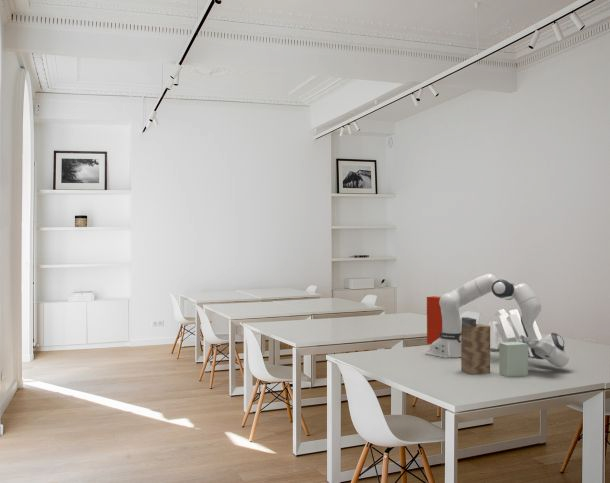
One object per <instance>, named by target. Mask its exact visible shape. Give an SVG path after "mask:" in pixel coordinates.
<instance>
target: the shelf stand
mask: <svg viewBox="0 0 610 483" xmlns="http://www.w3.org/2000/svg"><path fill="white" fill-rule="evenodd" d="M460 359H461V361H460V362H461V363H460V366H461V367H460V368H461V372H463V373H466V374H468V375H479V374H490V373H491V350H490V326H489V325H487V324H482V323H477V319H476V318H473V317H468V316H466V317H465V316H463V317H461V357H460Z"/></svg>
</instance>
